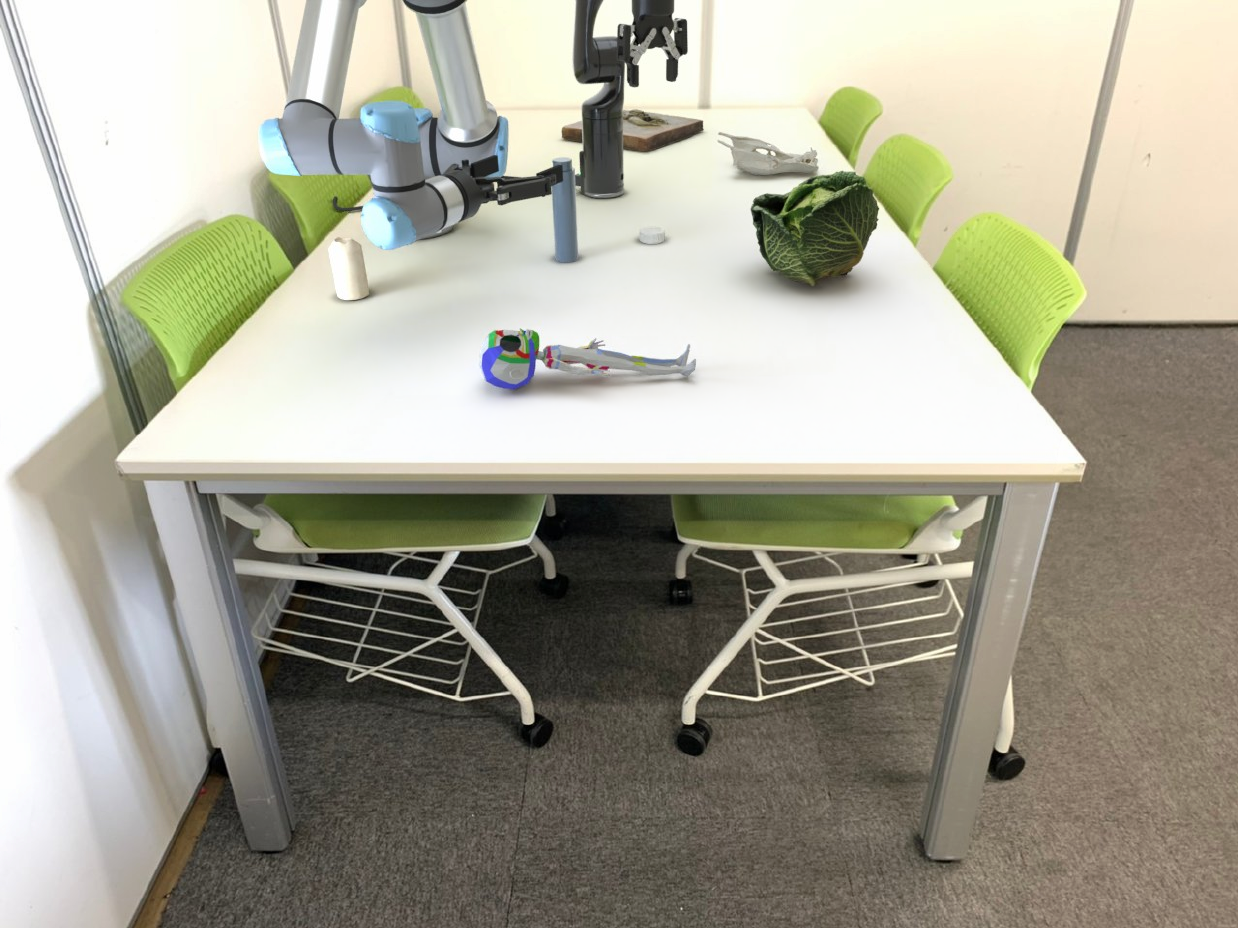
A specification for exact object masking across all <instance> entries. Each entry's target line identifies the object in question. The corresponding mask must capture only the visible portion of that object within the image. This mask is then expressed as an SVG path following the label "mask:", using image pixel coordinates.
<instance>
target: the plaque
mask: <svg viewBox="0 0 1238 928" xmlns="http://www.w3.org/2000/svg"><path fill="white" fill-rule="evenodd" d="M704 130H705V129H704V120H702V119H698V118H693V117H685V116H679V115H669V114H663V113H659V112H650V111H644V110H642V109H637V108H636V109H635V108H634V109H630V110H629V109H623V149H625V150H632V151H640V152H648V151H654V150H656V149H659V148H662V147H663V146H664V147H665V146H667V145H670V144H672V143H676V142H680V141H682V140H684V139H687V138H691V137H692V136H694V135H696V134H698V133H700V132H704ZM561 138H562V139H563V140H568V141H573V142H581V143H583V140H582V120H579V121H577V122H573V123H569V124H567V125H564V126H562V127H561Z"/></svg>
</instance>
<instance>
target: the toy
mask: <svg viewBox="0 0 1238 928" xmlns="http://www.w3.org/2000/svg"><path fill="white" fill-rule="evenodd" d="M601 343H603V344H601ZM605 346H606V343H605V344H604V340H603V339H602V340H599V341H597V338H596V337H595V338H594V339H593V340H591V341H590V342H589V344H588V345H584V346H583V345H582V346H579V347H572V346H567V345H562V344H552V345H551V344H550V345H546V346H545V347H544V348H543V349H542V351H540V335H539V333H538V332H537V331H535V330H533V329H530V328H526V329H525V330H524V329H522V328H519V330H513V329H499V330H497V329H494V330H493V331H491V332H490V333H488V335H487V336H486V338H485V339H484V340H483V343H482V344H481V346H480V351H479V363H478V367H479V369H480V372H481V374H482V378H483V379H484V381H485V382H486V383H488V384H490V385H492V386H493V387H497V388H501V389H504V390H514V391H515V390H516V389H519V388H522V387H525V386H526V385H528V384H529V383H530V382H531V380H532V379H533V378H534V376H535V373H536V367H537V366H536V363H537V360H538V361H542V363H543V364H544V366H545V368H547V369H549V370H559V371H561V372H567V373H569V374H572V375H576V376H588V375H594V376H599V377H604V378H607V379H609V376H611V377H612V376H613V375H612V374H611V373H607V372H610V370H619V371H621V370H622V371H634V372H637V373H642V374H644V375H648V376H667V375H674V374H680V375H681V376H684V377H689V376H690V375H691V374H692V373H693V372H694V371H696V367H697V366H696V365H697V359H696V358H694V359H693V360H692V361H691V362H690V363H688V360H689V359H688V358H689V355H690V350H691V344H690V343H688V344H687V345H686V349H685V351H684V352H683V353H682V354H681V355H680V356H678V357H677V358H671V359H670V358H656V357H655V358H654V357H646V356H639V355H629V354H626V353H623V352H618V351H612V350H606V349H601V348H599V347H605ZM687 363H688V364H687ZM576 364H577V365H578V364H582V365H583V366H586V367H583V366H576Z"/></svg>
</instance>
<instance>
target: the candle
mask: <svg viewBox="0 0 1238 928" xmlns="http://www.w3.org/2000/svg"><path fill="white" fill-rule="evenodd" d="M362 247H363V246H362V244H361V243H359V241H357V240H355V239H353V238H348V237H340V236H338V237H336V238H334V239H333V241H332V242H331V243H330V245H329V247H327V250H328V256H329V261H330V265H331V272H332V276H333V282H334V287H335V291H336V297H337V298H338V299H340V300H342V301H343V300H344V301H354V300H361V299H363V298H366V297H368V296H369V294H370V287H369V281H368V275H367V269H366V265H365V258H364V252H363V248H362Z"/></svg>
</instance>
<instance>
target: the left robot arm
mask: <svg viewBox="0 0 1238 928" xmlns="http://www.w3.org/2000/svg"><path fill="white" fill-rule="evenodd" d="M367 1H368V0H305V5H304V10H303V14H302V20H301V25H300V30H299V35H298V40H297V44H296V49H295V56H294V60H293V65H292V71H291V75H290V80H289V85H288V90H287V95H286V99H285V106H284V109H283V113H282V117H281V118H279V117H275V118H269V119H266V120H264V121H263V123H261V125H260V127H259V129H258V135H257V136H258V138H257V139H258V140H257V141H258V149H259V154H260V156H261V159H262V162H263V163H264V164H265V167H266V168H267V169H268V170H269V171H270V172H271V173H273V174H274V175H285V176H296V177H303V176H342V175H343V176H344V175H345V176H369V177H370V180H371V185H372V191H373V196H374V197H372V198H371V199H369V200H368V201H367V202H366V203H364V205H359V206H352V207H341V206H339V205H338V204H337V202H338V201H339V200H338V199H339V198H338V196H336V195H334V197H332V198H333V199H332V205H333V208H334V209H335V210H337V211H339V212H353V211H361V214H360V223H361V227H362V230H363V233H364V234H365V235H366V237H367V239H369V241H370V242H371V243H372V244H373V245H374V246H376V247H377V248H380V249H382V250H385V251H392V250H396V249H398V248H401V247H405V246H409V245H413V244H414V243H415V242H417V241H419V240H426V239H430V238H431V239H432V238H435V237H439V236H442V235H445V234H447V233H449V232H451V231H452V230H453V229H454V226H455V225H456V224H458V223H461V222H464V221H466V220H468V219H471V218H473V217H474V216H476V215H477V214H478V212H479V211H480V208H481V206H482V205H483V204H484V205H485V204H488V203H489V202H496V201H497V202H496V203H497V205H498V206H505V205H507V204H510V203H514V202H519V201H524V200H529V199H535V198H540V197H542V198H544V197H546V196H552V187H551V186H553V185H556V184H558V183H560V182H563V167H562V165H556V166H554V167H553V166H551V167H549V168H546V169H544V170H541V171H539V172H536V173H535V175H533V176H532V175H531V176H523V177H522V176H520V177H521V178H512V179H501V177H502V176H505V174H506V172H507V166H508V157H509V156H508V155H509V135H510V134H509V132H510V131H509V129H510V128H509V120H508V118H507V117H505V116H502V115H498V112H497V110H496V107H495V106H494V105H493V104H492V103H491V102H490V101H488V100H487V99H486V93H485V89H484V83H483V79H482V74H481V70H480V69H481V68H480V64H479V61H478V56H477V52H476V45H475V42H474V41H475V40H474V37H473V32H472V28H471V23H470V18H469V13H468V7H467V4H466V3H467V1H468V0H402V2H403V4H404V6H405V7H406V8H407V9H409V10H410V11H411V12H413V13H414V14H415V17H416V20H417V24H418V27H419V31H420V35H421V38H422V43H423V46H424V49H425V54H426V57H427V60H428V61H427V62H428V64H429V68H430V71H431V75H432V78H433V83H434V86H435V90H436V94H437V97H438V101H439V105H440V108H441V109H440V111H439V114H438V116H436V117H435V116H434V114H433V112H432V110H431V109H430V108H428V107H427V108H423V107H419V108H414V107H413V106H412V105H411V104H410V103H408V102H405V101H401V100H384V101H373V102H369V103H366V104H364V105H363V106H362V107H361V108H360V117H358V118H357V117H356V118H355V117H354V118H340V114H341V109H342V103H343V97H344V94H345V93H344V92H345V87H346V82H347V75H348V70H349V64H350V59H351V54H352V53H351V52H352V49H353V43H354V37H355V32H356V26H357V21H358V16H359V9H360V8H362V7H363V6H365V4H366V2H367ZM433 116H434V117H433ZM495 183H496V185H497V187H496V188H495Z"/></svg>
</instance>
